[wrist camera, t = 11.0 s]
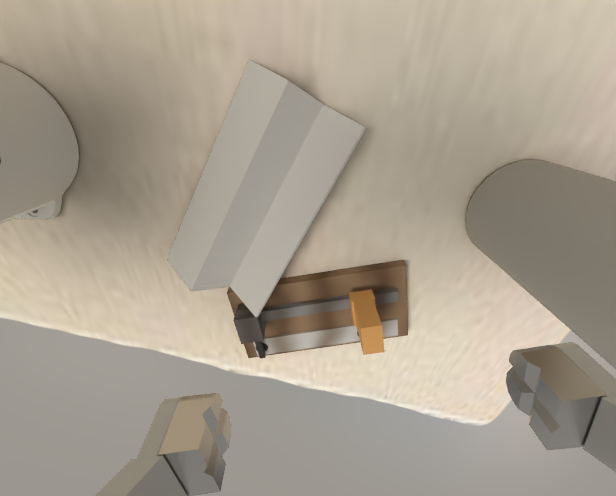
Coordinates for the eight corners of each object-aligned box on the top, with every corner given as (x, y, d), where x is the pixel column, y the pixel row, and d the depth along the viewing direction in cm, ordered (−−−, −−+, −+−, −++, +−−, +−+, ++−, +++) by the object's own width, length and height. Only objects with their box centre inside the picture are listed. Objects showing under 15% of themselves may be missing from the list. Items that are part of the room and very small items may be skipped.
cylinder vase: (445, 239, 42) (615, 411, 20) (496, 144, 37) (808, 232, 14) (526, 262, 44) (764, 442, 22) (585, 175, 39) (983, 294, 16)
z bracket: (208, 258, 45) (166, 259, 40) (288, 85, 37) (249, 59, 32) (257, 316, 40) (216, 326, 35) (366, 128, 31) (333, 104, 26)
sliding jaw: (354, 341, 46) (364, 384, 40) (348, 290, 42) (358, 328, 36) (375, 338, 46) (388, 381, 39) (370, 286, 42) (384, 324, 35)
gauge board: (249, 350, 49) (245, 376, 45) (229, 286, 44) (221, 309, 40) (404, 328, 48) (415, 352, 44) (402, 260, 43) (415, 279, 39)
